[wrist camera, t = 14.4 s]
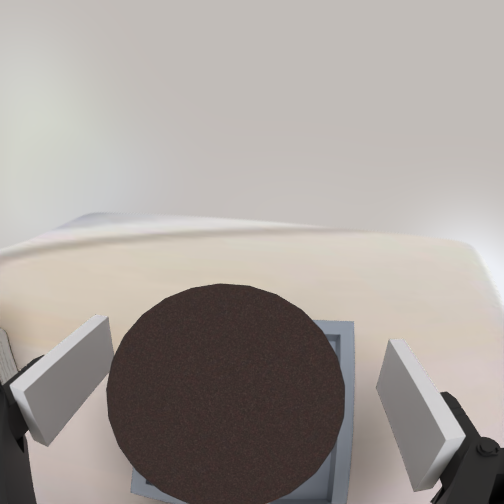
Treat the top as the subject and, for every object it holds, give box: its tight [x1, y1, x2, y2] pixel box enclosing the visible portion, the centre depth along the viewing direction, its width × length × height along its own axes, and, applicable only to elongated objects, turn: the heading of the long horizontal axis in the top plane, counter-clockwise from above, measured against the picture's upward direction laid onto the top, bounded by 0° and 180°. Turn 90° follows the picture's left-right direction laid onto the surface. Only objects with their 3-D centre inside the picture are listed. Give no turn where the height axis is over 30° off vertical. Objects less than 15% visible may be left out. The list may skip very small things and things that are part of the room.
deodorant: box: [106, 284, 345, 504], centre depth 13 cm, size 6×6×15 cm
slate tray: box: [131, 320, 355, 504], centre depth 19 cm, size 14×14×2 cm
